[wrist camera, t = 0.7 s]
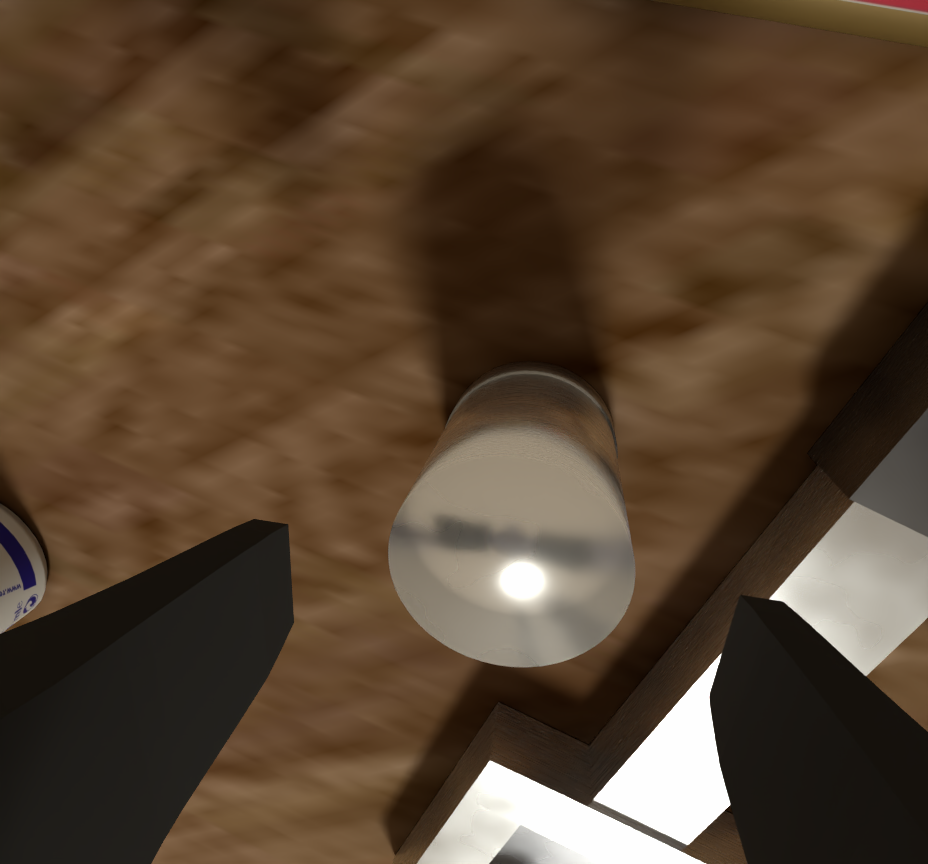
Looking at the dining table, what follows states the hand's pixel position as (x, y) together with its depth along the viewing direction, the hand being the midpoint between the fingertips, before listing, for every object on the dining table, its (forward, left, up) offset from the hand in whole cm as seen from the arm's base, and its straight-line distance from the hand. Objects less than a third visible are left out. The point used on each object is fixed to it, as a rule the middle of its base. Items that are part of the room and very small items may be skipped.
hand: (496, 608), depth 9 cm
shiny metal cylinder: (0, 0, -7) cm, 7 cm away
